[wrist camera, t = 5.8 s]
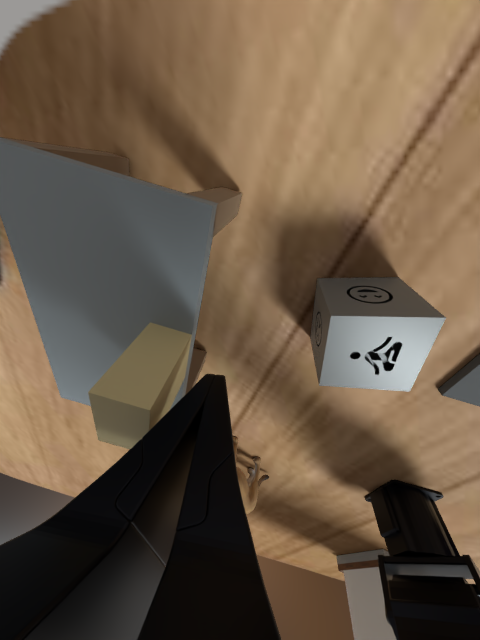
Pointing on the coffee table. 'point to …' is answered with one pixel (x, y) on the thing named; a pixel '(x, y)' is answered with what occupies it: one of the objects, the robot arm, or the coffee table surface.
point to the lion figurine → (249, 482)
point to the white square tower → (365, 595)
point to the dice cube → (371, 333)
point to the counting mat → (464, 384)
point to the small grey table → (111, 277)
